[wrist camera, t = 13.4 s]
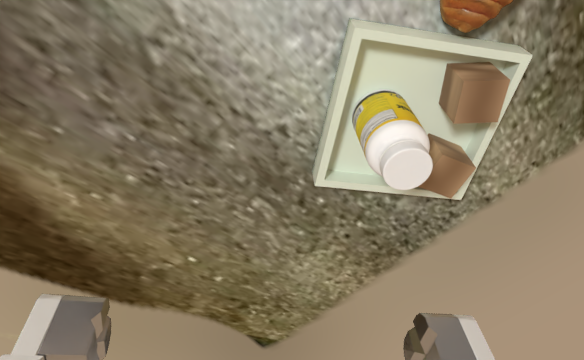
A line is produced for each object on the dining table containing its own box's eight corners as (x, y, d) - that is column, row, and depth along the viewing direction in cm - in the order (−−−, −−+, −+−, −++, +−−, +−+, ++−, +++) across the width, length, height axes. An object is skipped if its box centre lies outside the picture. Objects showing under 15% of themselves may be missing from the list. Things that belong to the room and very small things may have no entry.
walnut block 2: (406, 163, 47) (418, 186, 44) (428, 133, 45) (442, 154, 42) (437, 175, 48) (451, 198, 45) (460, 145, 46) (476, 168, 43)
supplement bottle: (415, 120, 44) (451, 179, 36) (365, 146, 45) (389, 208, 37) (393, 76, 41) (427, 129, 33) (341, 105, 42) (361, 163, 34)
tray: (312, 171, 47) (314, 185, 45) (349, 18, 38) (354, 27, 36) (452, 185, 50) (461, 199, 48) (518, 45, 41) (532, 55, 39)
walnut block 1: (438, 103, 43) (453, 123, 40) (446, 63, 41) (463, 81, 37) (479, 102, 43) (497, 122, 40) (489, 62, 41) (510, 79, 38)
